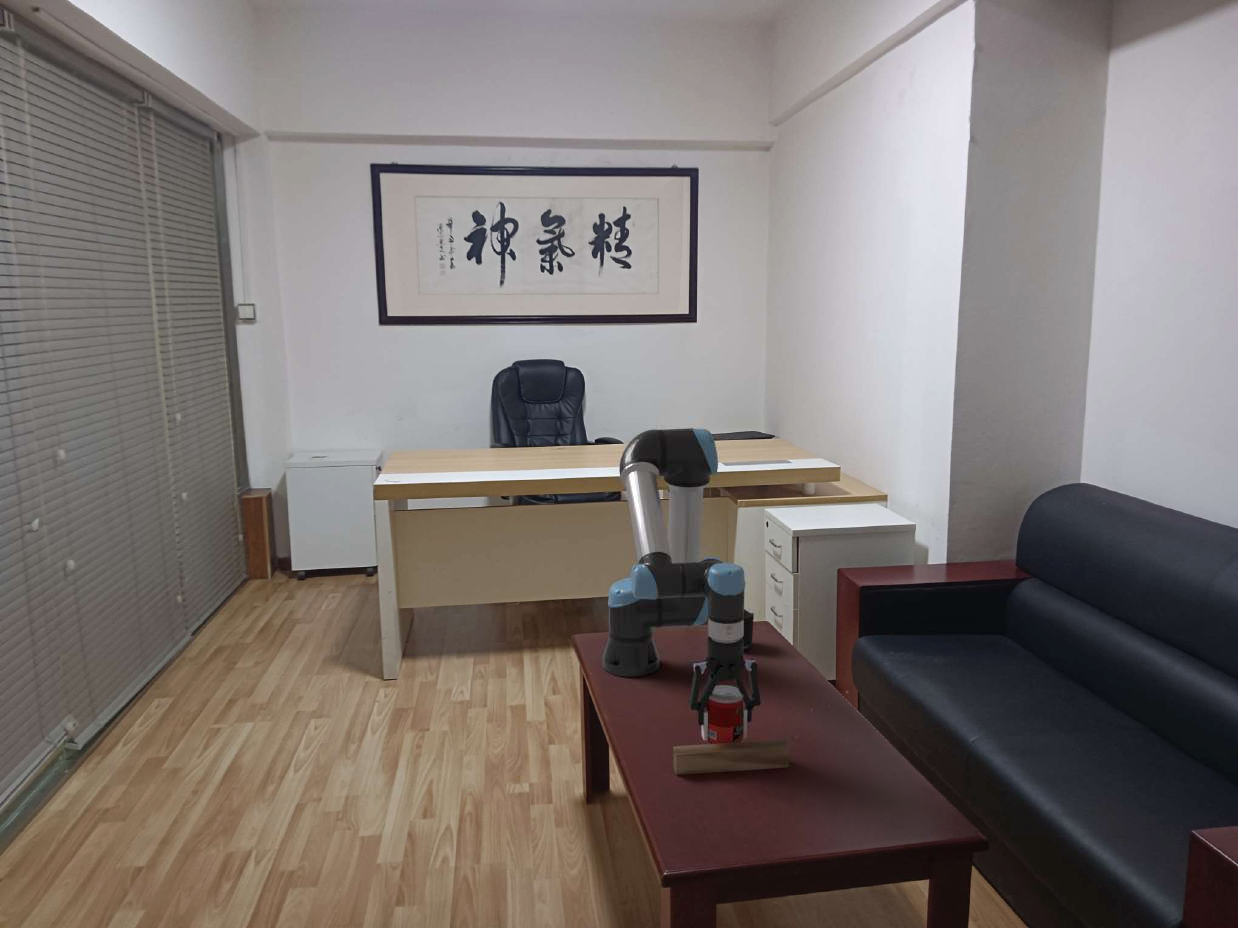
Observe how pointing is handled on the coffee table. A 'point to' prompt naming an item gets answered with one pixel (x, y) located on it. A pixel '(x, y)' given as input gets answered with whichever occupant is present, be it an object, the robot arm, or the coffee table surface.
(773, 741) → the board
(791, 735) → the coffee table surface
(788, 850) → the coffee table surface
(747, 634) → the pen holder
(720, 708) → the canned food
